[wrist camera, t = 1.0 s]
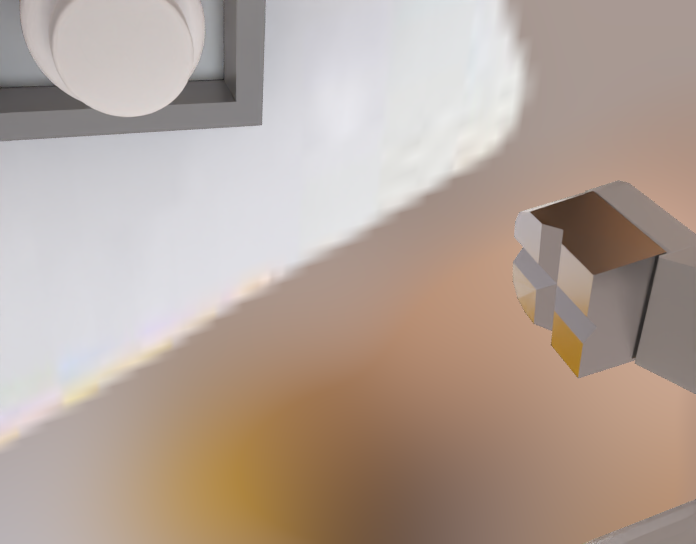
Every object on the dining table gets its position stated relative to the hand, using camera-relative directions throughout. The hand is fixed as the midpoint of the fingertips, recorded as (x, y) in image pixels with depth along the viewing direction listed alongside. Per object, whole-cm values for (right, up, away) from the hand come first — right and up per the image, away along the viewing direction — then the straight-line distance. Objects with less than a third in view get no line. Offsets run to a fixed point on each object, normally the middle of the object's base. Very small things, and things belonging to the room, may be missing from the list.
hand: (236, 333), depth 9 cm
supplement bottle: (-9, +13, +18) cm, 24 cm away
